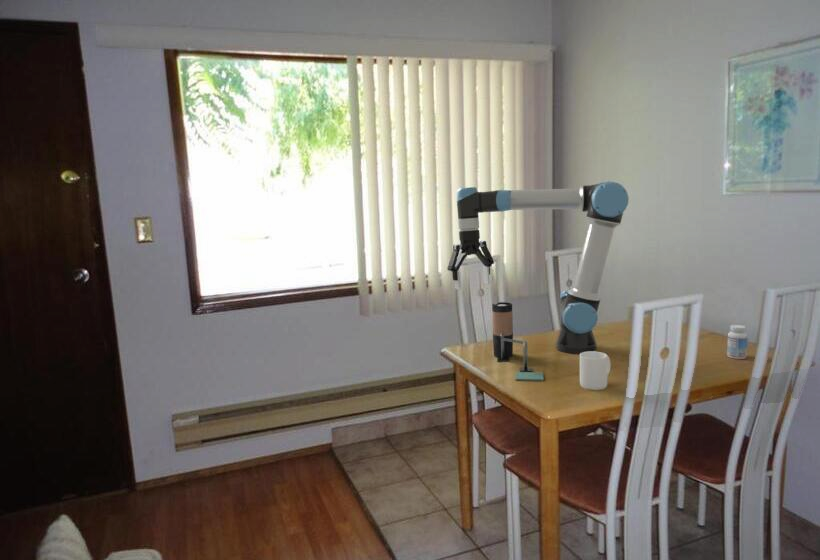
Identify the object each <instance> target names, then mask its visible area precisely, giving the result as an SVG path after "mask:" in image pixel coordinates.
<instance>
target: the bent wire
mask: <svg viewBox="0 0 820 560" xmlns="http://www.w3.org/2000/svg"><path fill="white" fill-rule="evenodd" d="M504 341H509V342H513V344H514V343H516V344H521V345H523V366H520V367H519V372H533V369H532V367H531V366H528V342H527V341H525V340H520V339H514V338H513V339H508V338H504V333H501V357H497V361H496V362H498V363H499V362H501V363H508V362H509V358H508V357H505V353H504Z"/></svg>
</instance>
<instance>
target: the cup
mask: <svg viewBox="0 0 820 560" xmlns="http://www.w3.org/2000/svg"><path fill="white" fill-rule="evenodd" d="M610 371H611V359H610V357H609V356H608V355H607V354H606V353H605V352H601V351H597V350H595V351H587V352H582V353H579V385H580V386H581V388H583V389H586V390H591V391H601V390H604V389H606V388H607V387H608V375H609V373H610Z"/></svg>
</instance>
